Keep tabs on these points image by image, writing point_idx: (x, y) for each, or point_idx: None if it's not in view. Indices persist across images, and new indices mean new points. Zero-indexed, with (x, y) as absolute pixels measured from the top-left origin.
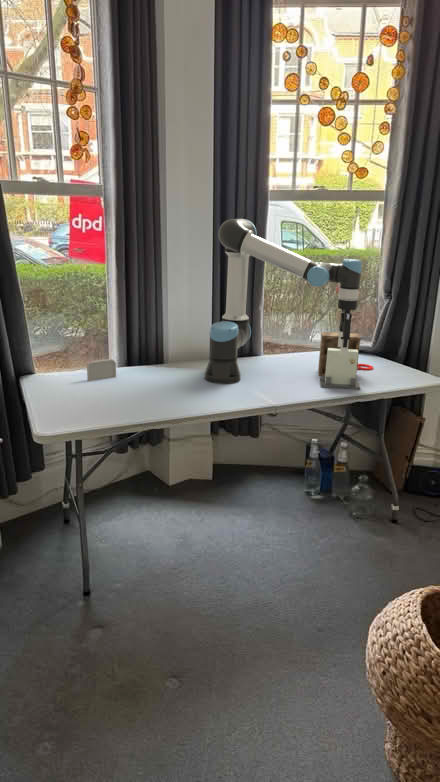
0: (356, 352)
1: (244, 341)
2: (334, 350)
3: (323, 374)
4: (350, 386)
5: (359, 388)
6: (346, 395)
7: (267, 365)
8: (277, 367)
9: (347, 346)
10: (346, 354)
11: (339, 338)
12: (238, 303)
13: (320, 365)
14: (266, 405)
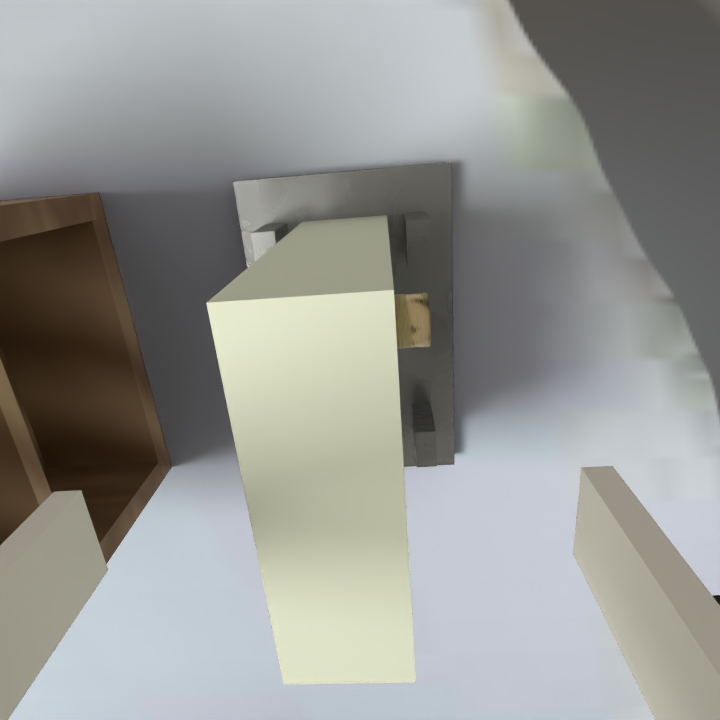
0: (395, 319)
1: None
2: (403, 622)
3: (159, 446)
4: (442, 253)
5: (450, 172)
6: (622, 282)
7: (92, 716)
8: (105, 675)
9: (696, 591)
10: (617, 484)
11: (16, 687)
12: None
13: (135, 514)
14: None
